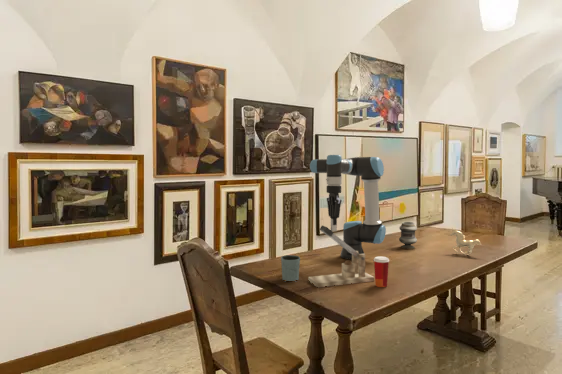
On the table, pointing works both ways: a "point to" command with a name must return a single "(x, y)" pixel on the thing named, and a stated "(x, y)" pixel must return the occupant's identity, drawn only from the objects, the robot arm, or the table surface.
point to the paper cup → (381, 271)
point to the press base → (342, 279)
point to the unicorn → (464, 242)
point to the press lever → (339, 241)
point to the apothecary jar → (408, 235)
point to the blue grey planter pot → (290, 267)
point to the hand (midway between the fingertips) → (333, 231)
